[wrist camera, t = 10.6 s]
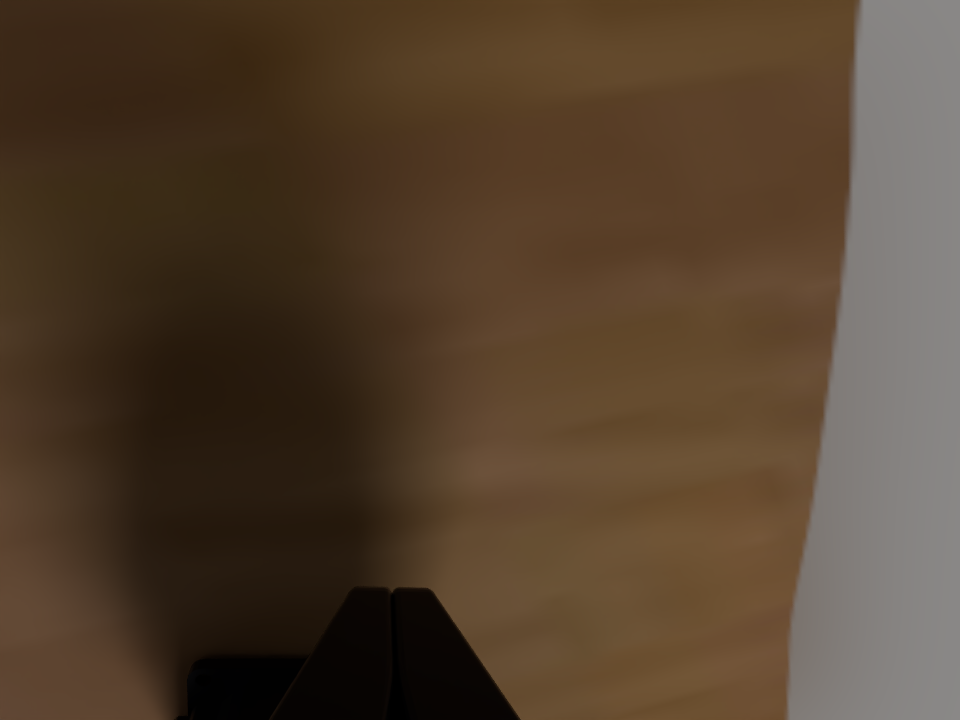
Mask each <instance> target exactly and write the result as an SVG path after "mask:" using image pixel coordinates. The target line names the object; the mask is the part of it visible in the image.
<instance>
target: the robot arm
mask: <svg viewBox="0 0 960 720" xmlns="http://www.w3.org/2000/svg"><path fill="white" fill-rule="evenodd" d="M202 674H204V675H208V676H202ZM187 692H188V716H178V717H177V718H176V719H174V720H520V718H519V717H518V715H517V714H516V712H515V711H514V709H513V708H512V706H511V705H510V703H509V702H508V701H507V699H506V698H505V696H504V695H503V693H502V692H501V690H500V689H499V687H498V686H497V684H496V683H495V681H494V680H493V679H492V677H491V676H490V674H489V673H488V671H487V670H486V668H485V667H484V665H483V664H482V662H481V661H480V660H479V658H478V657H477V655H476V654H475V652H474V651H473V649H472V648H471V646H470V645H469V643H468V642H467V641H466V639H465V638H464V636H463V635H462V633H461V632H460V630H459V629H458V627H457V626H456V624H455V623H454V622H453V620H452V619H451V617H450V616H449V614H448V613H447V611H446V610H445V608H444V607H443V605H442V604H441V602H440V601H439V600H438V598H437V597H436V595H435V594H434V592H433V591H432V590H430V589H428V588H413V587H398V588H396V589H394V591H393V592H392V593H391V591H390V589H389V588H387V587H366V586H357V587H354V588H353V589H352V590H351V591H350V592H349V593H348V595H347V596H346V598H345V600H344V601H343V603H342V604H341V606H340V608H339V609H338V611H337V612H336V614H335V615H334V617H333V619H332V620H331V622H330V623H329V625H328V627H327V628H326V630H325V631H324V633H323V635H322V636H321V638H320V639H319V641H318V643H317V644H316V646H315V647H314V649H313V650H312V652H311V654H310V655H309V657H308V658H307V659H202V660H199V661H196V662H195V663H194V664H193V665H192V666H191V669H190V672H189V675H188V679H187Z"/></svg>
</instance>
